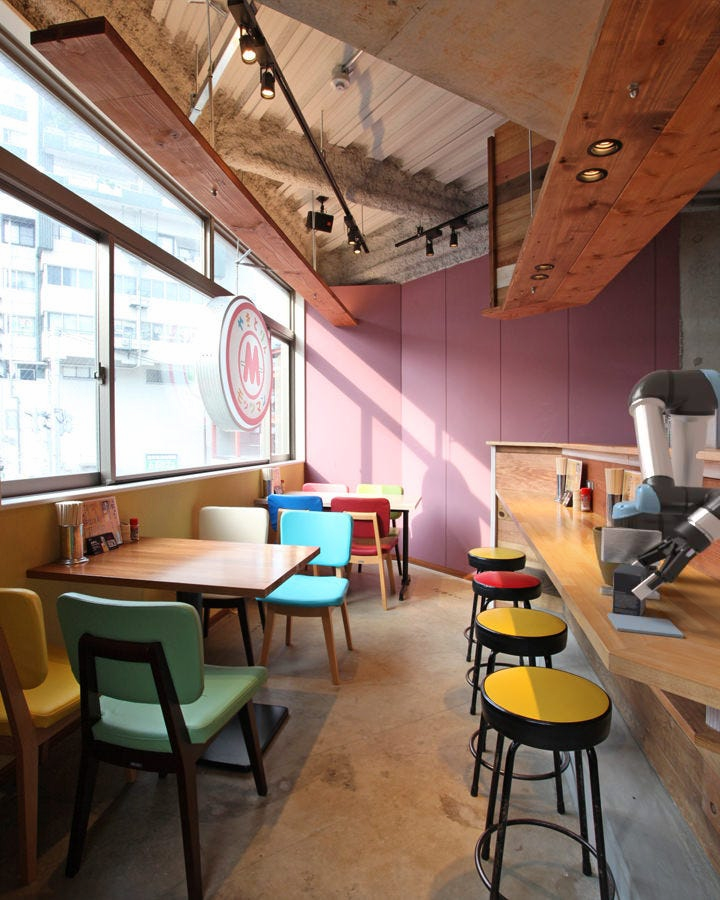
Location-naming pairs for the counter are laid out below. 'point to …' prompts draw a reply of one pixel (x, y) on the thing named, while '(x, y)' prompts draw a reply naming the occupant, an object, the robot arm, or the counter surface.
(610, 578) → the plant pot
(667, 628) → the mat
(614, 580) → the small box
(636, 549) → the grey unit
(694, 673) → the counter surface
